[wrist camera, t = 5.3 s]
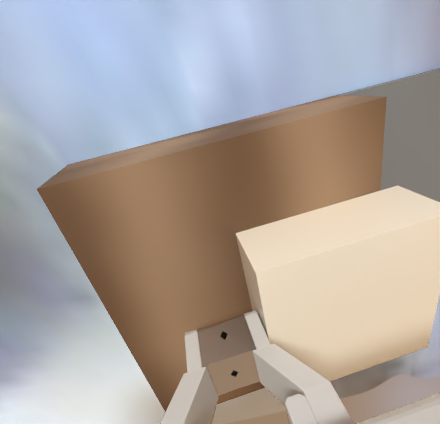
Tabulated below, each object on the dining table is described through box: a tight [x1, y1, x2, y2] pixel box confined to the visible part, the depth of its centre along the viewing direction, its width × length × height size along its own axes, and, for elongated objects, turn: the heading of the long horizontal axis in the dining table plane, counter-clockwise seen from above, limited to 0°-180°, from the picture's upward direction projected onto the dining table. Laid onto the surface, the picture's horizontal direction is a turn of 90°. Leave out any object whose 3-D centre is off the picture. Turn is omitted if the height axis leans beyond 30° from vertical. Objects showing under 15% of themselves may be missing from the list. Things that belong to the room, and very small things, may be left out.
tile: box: [236, 186, 440, 381], centre depth 11 cm, size 7×7×2 cm
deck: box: [37, 95, 387, 412], centre depth 13 cm, size 12×14×3 cm
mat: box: [337, 69, 440, 202], centre depth 15 cm, size 11×14×1 cm
